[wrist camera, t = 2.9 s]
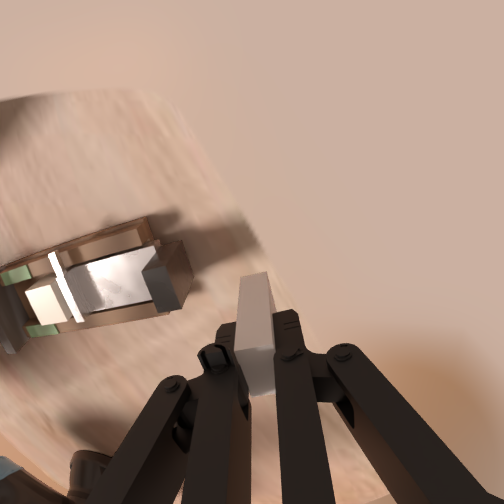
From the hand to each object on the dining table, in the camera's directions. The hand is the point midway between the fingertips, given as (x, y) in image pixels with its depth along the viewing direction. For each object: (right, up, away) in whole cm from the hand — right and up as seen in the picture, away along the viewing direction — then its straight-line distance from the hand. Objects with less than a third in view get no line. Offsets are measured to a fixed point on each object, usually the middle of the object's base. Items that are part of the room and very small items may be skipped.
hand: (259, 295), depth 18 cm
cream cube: (-21, -1, +11) cm, 24 cm away
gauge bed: (-20, -1, +12) cm, 23 cm away
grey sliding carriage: (-12, +2, +10) cm, 16 cm away
